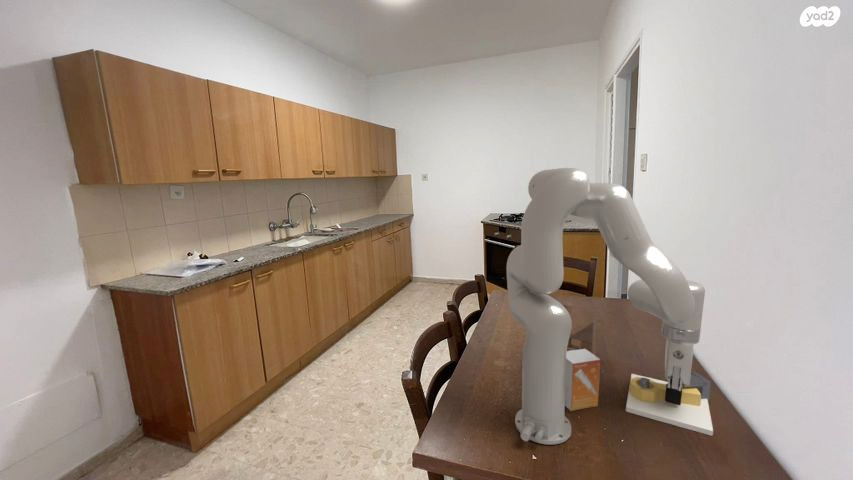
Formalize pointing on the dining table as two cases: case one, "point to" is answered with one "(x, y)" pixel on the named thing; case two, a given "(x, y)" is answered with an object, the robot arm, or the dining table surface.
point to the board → (673, 412)
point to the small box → (581, 379)
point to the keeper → (699, 385)
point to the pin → (644, 383)
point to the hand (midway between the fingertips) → (672, 401)
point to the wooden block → (582, 333)
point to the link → (662, 392)
